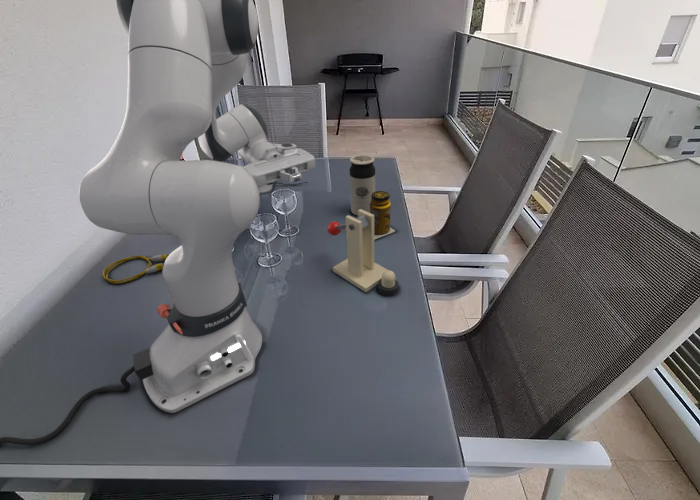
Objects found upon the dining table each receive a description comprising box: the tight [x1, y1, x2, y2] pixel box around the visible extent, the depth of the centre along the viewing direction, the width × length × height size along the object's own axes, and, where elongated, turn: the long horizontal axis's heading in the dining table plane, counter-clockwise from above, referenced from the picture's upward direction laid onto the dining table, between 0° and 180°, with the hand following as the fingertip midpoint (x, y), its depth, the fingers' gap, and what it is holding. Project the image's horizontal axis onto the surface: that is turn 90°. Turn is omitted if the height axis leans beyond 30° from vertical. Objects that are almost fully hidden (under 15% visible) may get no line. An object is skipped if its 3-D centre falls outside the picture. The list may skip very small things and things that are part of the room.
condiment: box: [370, 190, 396, 241], centre depth 102 cm, size 7×8×12 cm
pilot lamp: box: [377, 269, 399, 297], centre depth 82 cm, size 5×5×5 cm
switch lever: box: [326, 215, 369, 236], centre depth 85 cm, size 14×4×4 cm, turn 43°
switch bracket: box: [332, 209, 388, 293], centre depth 84 cm, size 12×9×17 cm
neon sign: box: [241, 165, 309, 195], centre depth 138 cm, size 21×4×29 cm
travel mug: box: [349, 154, 376, 216], centre depth 111 cm, size 8×8×18 cm
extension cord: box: [102, 254, 170, 285], centre depth 93 cm, size 12×16×2 cm
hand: (297, 178), depth 93 cm, fingers closed
